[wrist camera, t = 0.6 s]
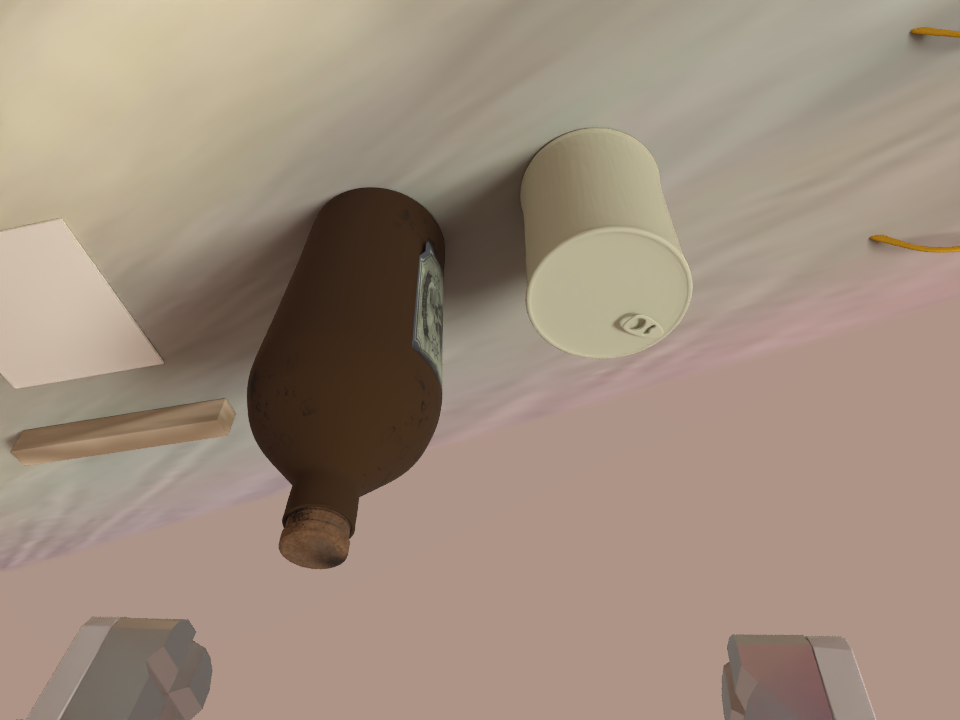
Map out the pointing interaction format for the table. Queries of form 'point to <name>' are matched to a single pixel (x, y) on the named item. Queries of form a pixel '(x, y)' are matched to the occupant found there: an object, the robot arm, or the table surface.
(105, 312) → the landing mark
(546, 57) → the table surface
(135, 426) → the wall
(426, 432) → the olive oil
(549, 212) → the can
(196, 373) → the table surface
